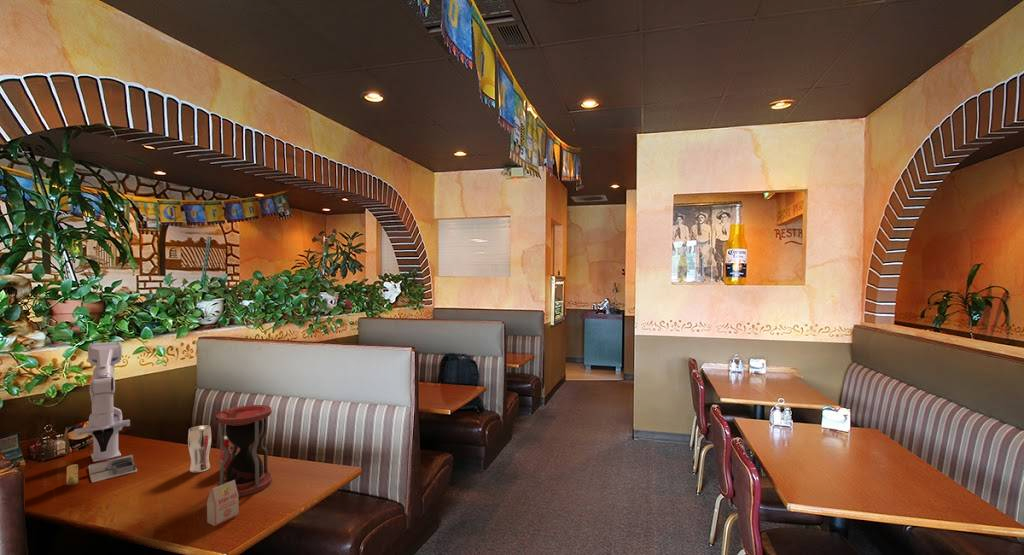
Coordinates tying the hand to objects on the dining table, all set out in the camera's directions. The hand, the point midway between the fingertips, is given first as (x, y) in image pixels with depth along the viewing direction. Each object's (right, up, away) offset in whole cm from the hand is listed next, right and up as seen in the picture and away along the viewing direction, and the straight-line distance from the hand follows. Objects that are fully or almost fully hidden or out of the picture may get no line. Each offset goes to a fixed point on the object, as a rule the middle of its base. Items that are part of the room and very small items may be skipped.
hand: (103, 450), depth 162 cm
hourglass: (+55, -9, -8) cm, 56 cm away
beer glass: (+31, -9, +4) cm, 33 cm away
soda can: (+42, -9, +5) cm, 43 cm away
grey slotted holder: (-3, -8, +6) cm, 11 cm away
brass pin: (-4, -9, -7) cm, 12 cm away
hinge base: (+3, -8, +1) cm, 9 cm away
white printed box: (+60, -9, -29) cm, 67 cm away
